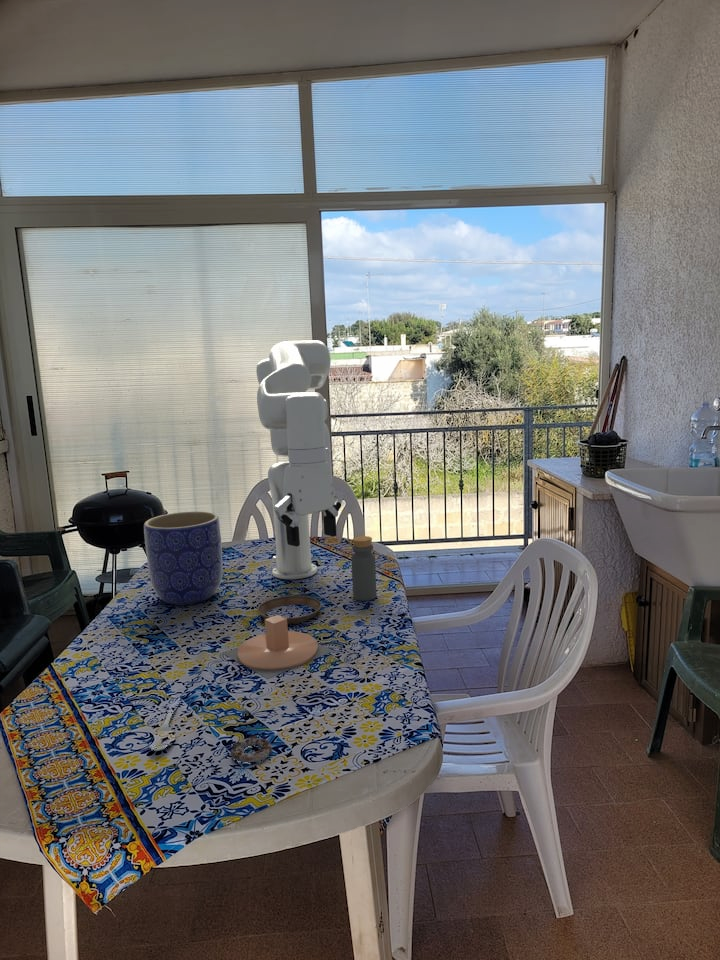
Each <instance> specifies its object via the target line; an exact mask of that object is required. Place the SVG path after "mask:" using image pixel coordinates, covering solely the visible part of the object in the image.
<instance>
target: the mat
mask: <svg viewBox="0 0 720 960" xmlns="http://www.w3.org/2000/svg"><path fill="white" fill-rule="evenodd" d="M288 631H291V630H289V629H288ZM317 644H318V651H317V653H316V655H315V656H314V657H313V658H312V659H310V660H309V661H307V662H305V663H303V664H301V665H304V664H306V663H309V662H311V661H314V660H316V659H318V658H320V657H323V656H325V655H327V654H330V653H332V652H335V650H333V649H331V648H329V647H327V646H325V645H322V644H321V643H318V642H317ZM239 647H240V646H237V647H235V648H232V649H230V650H227V651H224V652H222V654H223V655H225V656H226V657H229V658H231V659H232V660H234V661H235V662H237V663H239V664H241V665H242V666H244V667H246V668H248V669H250V670H251V671H253V672H255V673H257V674H258V675H259V676H262V677H264V678H265V679H267V680H269V679H272V678H273V677H275V676H279V675H281V674H283V673H285V672H287V671H289V670H293V669H295V668H297V667H300V666H301V665H298V666H295V667H291V668H287V669H280V670H259V669H253V668H250V667H247V666H245V665H243V664H242V663H241V662H240V661H239V659H238V648H239Z"/></svg>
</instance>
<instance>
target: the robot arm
mask: <svg viewBox="0 0 720 960" xmlns="http://www.w3.org/2000/svg"><path fill="white" fill-rule="evenodd" d="M331 361H332V360H331V354H330V351H329V348H328V347H327V345H326V344H325V342H323V341H321V340H315V339H314V340H288V341H287V340H286V341H282V342H279V343H277V344H275V345H273V347H272V348H271V349H270V351H269V357H268V358H265V359H262V360H261V361H259V362H258V363H257V365H256V378H257V382H258V385H259V386H258V387H257V388H258V389H257V392H256V404H257V405H256V406H257V412H258V417H259V421H260V424H261V425H262V426H263V427H264V428H265V429H267V430H268V431H269V433H270V443H271V449H272V452H273V453H274V454H275V455H276V456H278V457H287V458H288V460H283V461H280V462H276V463H274V464H272V465H271V466H270V467H269V468H268V470H267V481H268V486H269V489H270V495H271V501H272V502H271V503H272V508H273V521H274V523H273V524H274V535H275V536H274V538H275V549H276V551H275V552H276V554H275V556H274V555H273V556H272V559H271V560H272V562H275V564H276V565H275V567H273V568H272V570H271V572H272V573H271V574H272V576H273V577H274V578H277V579H281V580H299V579H300V580H301V579H305V578H309V577H312V576H313V575H315V574H317V572H318V566H317V565H316V564H314V563H313V562H312V555H311V554H312V552H311V550H312V549H311V537H310V533H311V532H310V519H309V518H310V517H309V515H312V514H316V513H321V512H323V514H325V515H323V533H324V535H325V536H330V537H336V536H337V520H336V519H337V517H338V516H339V511H340V510H341V507H342V502H343V499H344V498H345V497H344V495H345V494H344V493H343V492H341V491H339V490H337V489H335V488H334V482H333V467H332V465H333V464H332V451H331V450H332V449H331V448H332V447H331V438H330V430H329V427H328V425H327V423H325V421H326V420H327V419H328V413H329V408H328V401H327V400H326V398H324V396H323V394H321V393H320V392H316V391H309V390H317V389H320V388H322V387H324V385H325V383H326V380H327V377H328V375H329V373H330V370H331Z"/></svg>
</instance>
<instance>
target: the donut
mask: <svg viewBox="0 0 720 960" xmlns="http://www.w3.org/2000/svg"><path fill="white" fill-rule="evenodd" d="M254 745H257V746H259V747H260V748H261V749H257V751H255V752H254V753H247V751H245V750H244V749H245V748H246V747H248V746H254ZM271 745H272V744H271V742H269V740H266V738H262V737H260V738H258V735H257V734H256V735H252V736H249V738H244V739H242V740H239V741H236V743H235V744H234V745H232V747H231V750H230V756H232V757H233V758H234V759H235V760H238V761H241V762H248V763H250V762H258V761H261V760H263V759H265V758H267V757H268V755H269V753H270V752H271V753H272V751H271V750H273V745H272V746H271ZM244 752H245V753H244ZM268 758H269V757H268Z"/></svg>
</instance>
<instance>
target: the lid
mask: <svg viewBox="0 0 720 960" xmlns="http://www.w3.org/2000/svg"><path fill="white" fill-rule="evenodd" d="M269 617H270V618H267V619H264V628H265V630H264V631H265V633H262V634H258V635H255V636H253V637H251V638H248V639H247V640H246V641H245V640H244V642H242V643H241V644H240V645H239V646H238V647H239V648H238V647H237V648H238V659H239V661H240V662H241V663H242V664H243V665H242V664H241V663H240V664H241V665H242V666H244V665H245V666H244V667H246V666H247V667H246V668H248V667H250V668H253V669H259V670H280V669H287V668H291V667H295V666H297V667H299V666H298V665H300V666H301V664H302V665H304V664H306V663H305V662H307V661H309V660H310V659H312V658H313V657H314V656H315V655H316V653H317V651H318V644H319V643H318V641H317V639H316V638H315V637H313V636H311V635H310V634H307V633H305V632H300V631H293V630H290V631H288V630H289V629H288V624H287V619H286V618H287V617H284V616H281V615H280V614H276V615H273V616H269ZM317 643H318V644H317ZM309 662H310V661H309ZM303 663H304V664H303ZM307 663H308V662H307ZM295 668H296V667H295Z"/></svg>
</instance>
